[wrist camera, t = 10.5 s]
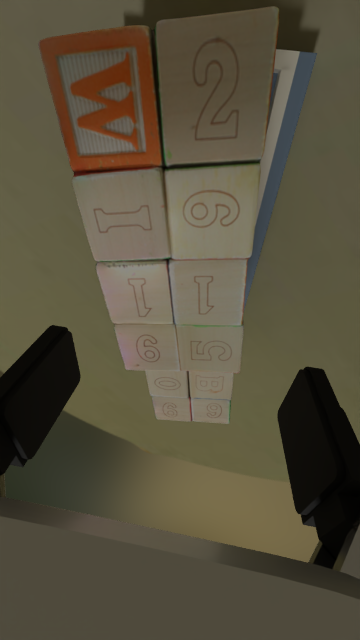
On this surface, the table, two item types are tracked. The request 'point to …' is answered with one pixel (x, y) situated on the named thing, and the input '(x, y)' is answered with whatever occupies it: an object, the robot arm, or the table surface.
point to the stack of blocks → (170, 188)
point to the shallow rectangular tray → (278, 139)
